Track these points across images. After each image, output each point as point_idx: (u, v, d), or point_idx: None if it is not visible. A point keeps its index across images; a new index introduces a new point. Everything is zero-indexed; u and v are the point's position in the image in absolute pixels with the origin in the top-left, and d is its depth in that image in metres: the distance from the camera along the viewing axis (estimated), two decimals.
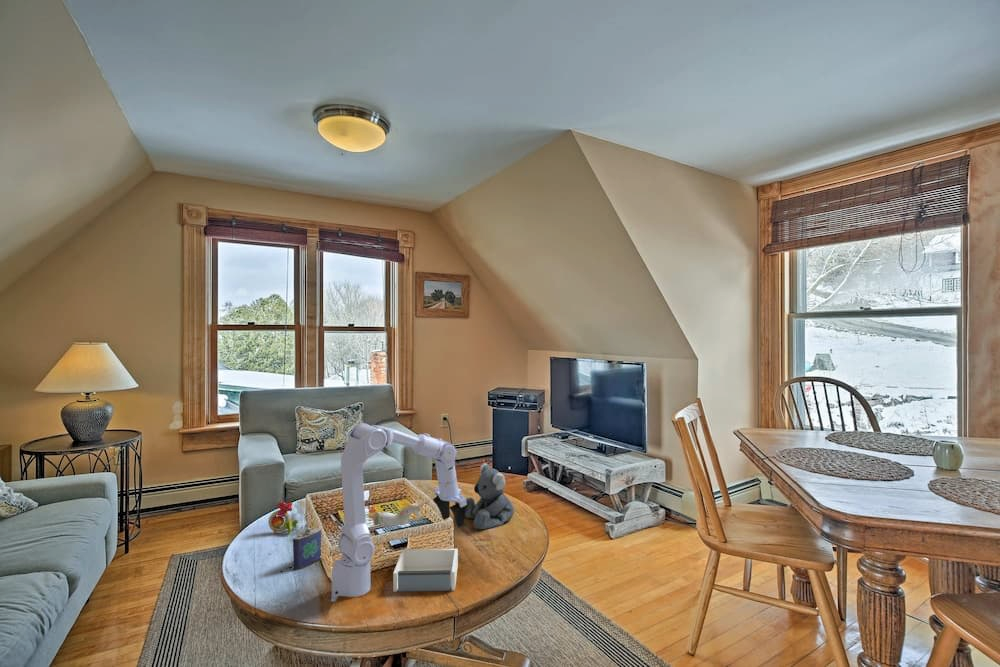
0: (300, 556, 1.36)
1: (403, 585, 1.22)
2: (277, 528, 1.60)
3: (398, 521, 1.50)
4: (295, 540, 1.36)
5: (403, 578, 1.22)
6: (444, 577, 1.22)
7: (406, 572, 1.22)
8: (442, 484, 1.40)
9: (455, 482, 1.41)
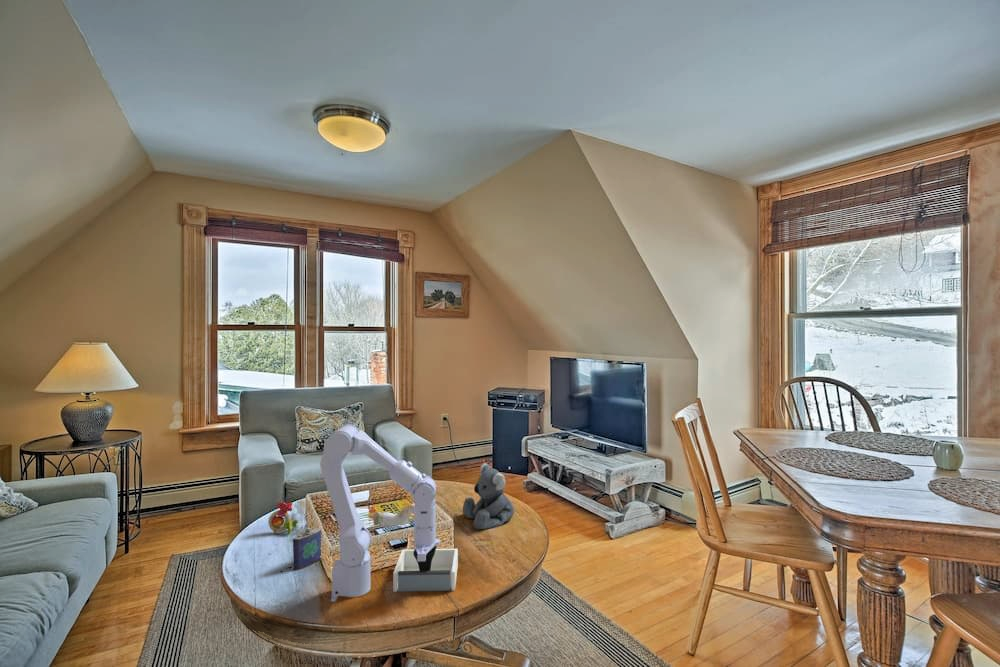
0: (300, 556, 1.36)
1: (403, 585, 1.22)
2: (277, 528, 1.60)
3: (398, 521, 1.50)
4: (295, 540, 1.36)
5: (403, 578, 1.22)
6: (444, 577, 1.22)
7: (406, 572, 1.22)
8: (414, 527, 1.23)
9: (428, 530, 1.22)
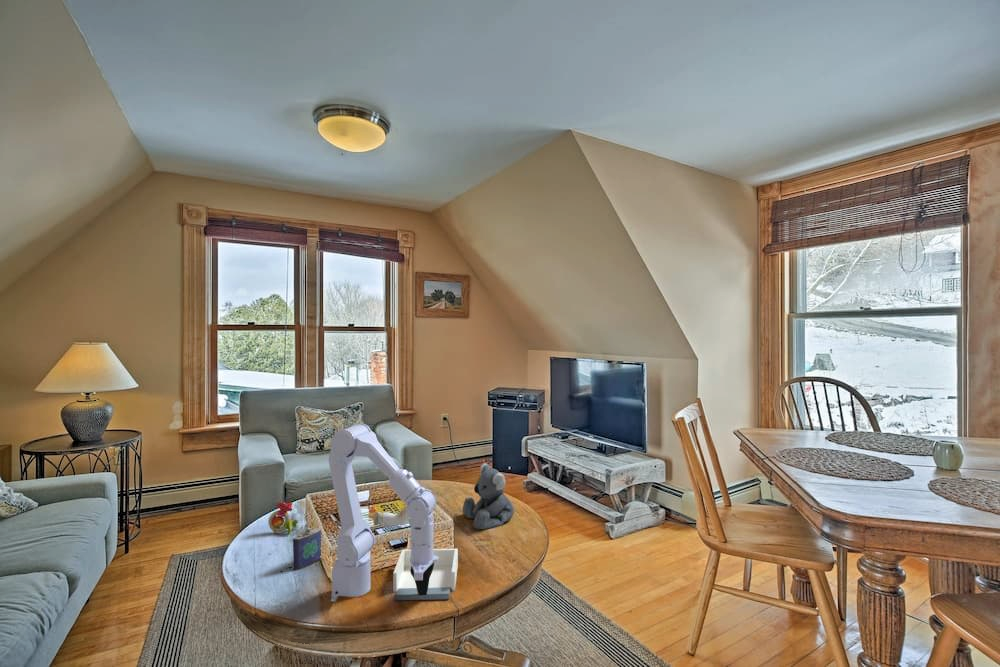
0: (300, 556, 1.36)
1: None
2: (277, 528, 1.60)
3: (398, 521, 1.50)
4: (295, 540, 1.36)
5: None
6: None
7: (403, 599, 1.18)
8: (411, 544, 1.18)
9: (425, 547, 1.16)
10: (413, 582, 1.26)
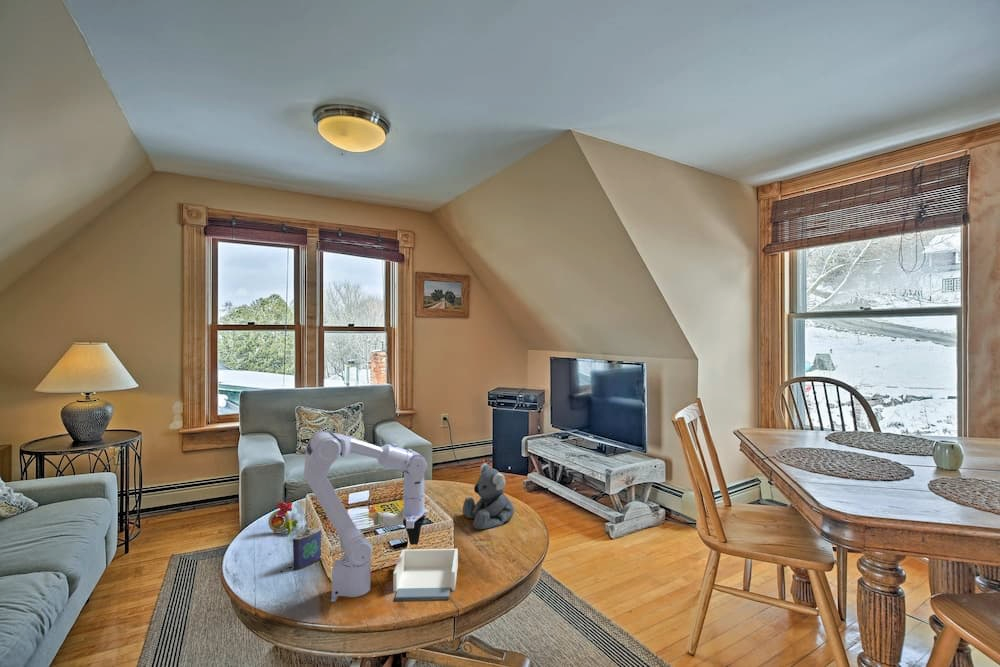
0: (300, 556, 1.36)
1: None
2: (277, 528, 1.60)
3: (398, 521, 1.50)
4: (295, 540, 1.36)
5: None
6: None
7: None
8: (404, 497, 1.30)
9: (416, 500, 1.29)
10: (413, 582, 1.26)
